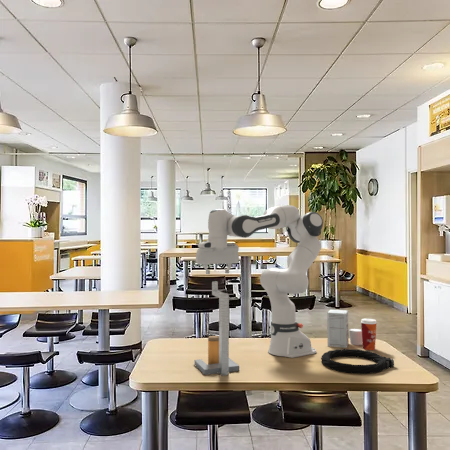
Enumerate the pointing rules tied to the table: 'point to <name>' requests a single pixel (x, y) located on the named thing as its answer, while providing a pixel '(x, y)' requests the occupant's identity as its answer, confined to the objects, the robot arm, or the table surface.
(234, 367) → the grey u-shaped bracket
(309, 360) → the table surface
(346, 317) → the supplement box
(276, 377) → the table surface
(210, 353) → the orange brown canister
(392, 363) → the cable lock
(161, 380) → the table surface
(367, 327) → the paper cup
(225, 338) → the hook stand
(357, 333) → the white short cylinder
